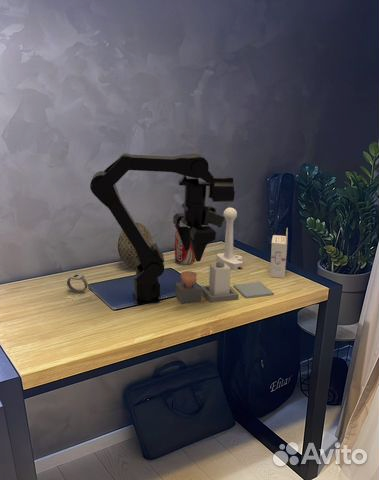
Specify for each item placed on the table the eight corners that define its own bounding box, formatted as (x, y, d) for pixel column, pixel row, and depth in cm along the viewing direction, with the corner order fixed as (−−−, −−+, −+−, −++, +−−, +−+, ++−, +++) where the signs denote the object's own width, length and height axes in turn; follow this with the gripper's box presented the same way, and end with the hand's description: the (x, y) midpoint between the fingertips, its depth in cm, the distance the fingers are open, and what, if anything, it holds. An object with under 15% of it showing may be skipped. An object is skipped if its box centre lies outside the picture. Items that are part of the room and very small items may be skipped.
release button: (183, 293, 137) (183, 277, 135) (178, 287, 141) (178, 272, 139) (198, 291, 138) (198, 276, 137) (193, 285, 142) (193, 270, 141)
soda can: (195, 266, 166) (195, 232, 162) (174, 265, 166) (174, 231, 162) (195, 258, 172) (195, 226, 169) (175, 258, 173) (175, 225, 169)
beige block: (214, 299, 141) (215, 267, 138) (208, 292, 145) (209, 261, 142) (229, 297, 142) (230, 265, 139) (223, 291, 146) (224, 260, 143)
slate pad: (245, 298, 141) (245, 296, 141) (233, 286, 149) (233, 284, 149) (273, 294, 144) (273, 293, 144) (260, 283, 152) (260, 281, 152)
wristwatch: (89, 291, 144) (88, 275, 143) (84, 295, 142) (84, 279, 140) (70, 288, 146) (69, 272, 144) (66, 292, 144) (64, 276, 142)
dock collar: (210, 302, 138) (210, 297, 138) (200, 290, 146) (200, 286, 145) (238, 299, 141) (238, 294, 140) (226, 287, 148) (227, 283, 148)
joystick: (213, 260, 171) (215, 204, 165) (231, 257, 175) (234, 202, 169) (231, 270, 162) (234, 212, 156) (250, 267, 166) (253, 209, 159)
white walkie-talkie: (270, 267, 165) (273, 225, 161) (285, 269, 164) (288, 227, 160) (268, 277, 157) (272, 233, 153) (284, 278, 156) (288, 234, 152)
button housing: (181, 304, 137) (181, 291, 136) (175, 295, 142) (175, 283, 141) (201, 301, 139) (201, 288, 137) (194, 293, 144) (194, 280, 143)
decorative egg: (124, 274, 157) (122, 229, 153) (114, 262, 168) (112, 220, 163) (158, 269, 162) (158, 225, 157) (146, 258, 172) (146, 217, 168)
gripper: (236, 208, 127) (232, 264, 131) (209, 193, 143) (206, 243, 148) (196, 210, 123) (193, 268, 128) (173, 194, 140) (171, 246, 144)
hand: (192, 255), depth 137 cm, fingers open, 9 cm apart
